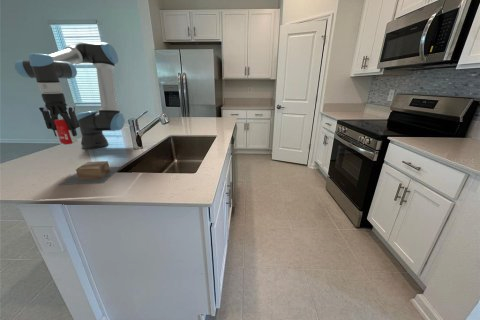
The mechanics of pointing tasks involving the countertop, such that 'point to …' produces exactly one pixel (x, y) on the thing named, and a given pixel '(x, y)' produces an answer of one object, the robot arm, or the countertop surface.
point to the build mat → (75, 179)
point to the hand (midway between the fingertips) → (68, 142)
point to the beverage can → (63, 131)
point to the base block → (93, 170)
